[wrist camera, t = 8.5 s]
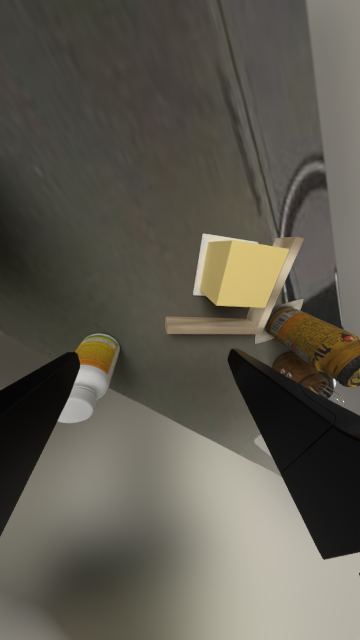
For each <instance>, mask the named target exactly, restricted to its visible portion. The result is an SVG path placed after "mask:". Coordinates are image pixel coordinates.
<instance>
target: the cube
mask: <svg viewBox="0 0 360 640" xmlns="http://www.w3.org/2000/svg"><path fill="white" fill-rule="evenodd" d="M288 252H289V249H286V248H280V247H273V246H267V245H261V244H254V243H248V242H241V241H235V240H227V241H214V242H208V245H207V251H206V256H205V262H204V267H203V273H202V279H201V284H200V291H201V292H202V293H203V294H204V295H205V296H207V297H208V298H209V299H210V300H211V301H212V302H213V303H214V304H215V305H216V306H237V307H258V308H265V307H266V305H267V302H268V300H269V297H270V295H271V293H272V290H273V288H274V285H275V283H276V281H277V278H278V276H279V273H280V271H281V269H282V266H283V264H284V261H285V259H286V257H287V254H288Z"/></svg>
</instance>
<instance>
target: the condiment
mask: <svg viewBox="0 0 360 640" xmlns="http://www.w3.org/2000/svg"><path fill="white" fill-rule="evenodd" d="M303 299H304V298H303ZM303 299H300V300H296V301H292V302H288V303H285V304H282V305H279V306H276V307H273V309H272V311H271V314H270V316H269V318H268V320H267V323H266V325H265V327H264V329H263V332H262V334H255V344H257V343H261V342H265V341H268V340H271V339H274V338H275V339H277V340H278V341H279V342H281V343H282V344H283V345H285V346H286V347H287V348H289V349H290V350H291V351H293V352H294V353H295V354H297V355H298V356H299V357H301V358H302V359H303V360H305V361H306V362H307V363H309V364H310V365H311V366H313V367H314V368H315V369H317V370H319V371H322V372H326V373H327V374H328V375H329V376H330V377H332V378H334V379H336V380H337V381H339V383H340V384H342V385H343V386H346V387H356V386H360V339H359V338H358V337H357V336H355V335H353V334H351V333H349V332H347V331H345V330H342V329H340V328H338V327H336V326H334V325H331V324H329V323H327V322H325V321H322V320H320V319H318V318H315V317H313V316H311V315H309V314H307V313H304V312H302V311H300V309H301V307H302V303H303ZM264 331H265V332H264ZM266 332H267V333H266Z"/></svg>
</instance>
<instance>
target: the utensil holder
mask: <svg viewBox="0 0 360 640" xmlns="http://www.w3.org/2000/svg"><path fill="white" fill-rule="evenodd" d="M273 369H274V370H276V371H278V372H280V373H281V374H283V375H285V376H287V377H289V378H290V379H292V380H294V381H296V382H297V383H299V384H301V385H303V386H304V387H306V388H308V389H310V390H312V391H313V392H315V393H317V394H321V392H322V391H324V390H325V389H326V387H327V386H328V380H327V379H326V378H325V377H324V376H322V375H320V374H319V372H318V371H317V370H316V369H315V368H314V367H313V366H311V365H310V364H309V363H307V362H306V361H305V360H303V359H302V358H301V357H299V356H298V355H297V354H295V353H285V354H283V355H281V356H280V357H279V358H277V359H276V361H275V362H274V364H273ZM328 388H329V387H328ZM331 390H332V389H331ZM325 391H326V390H325ZM333 391H334V390H333ZM334 392H335V391H334ZM328 393H329V391H328ZM329 394H330V393H329ZM337 394H338V393H337ZM332 395H333V394H332ZM338 395H339V394H338ZM325 396H326V395H325ZM325 396H324V397H325ZM326 397H327V396H326ZM326 397H325V398H326ZM343 406H345V404H344V405H343ZM343 406H342V407H343Z"/></svg>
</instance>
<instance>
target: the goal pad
mask: <svg viewBox="0 0 360 640" xmlns="http://www.w3.org/2000/svg"><path fill="white" fill-rule="evenodd" d="M227 240H235V241H241V242H248V243H254V244H258V242H253V241H246V240H240V239H234V238H228V237H221V236H215V235H209V234H203V235H202V241H201V247H200V254H199V260H198V266H197V272H196V278H195V285H194V291H193V295H199V296H205V295H204V294H203V293H202V292H201V291H200V284H201V279H202V273H203V267H204V262H205V256H206V251H207V245H208V242H214V241H227Z"/></svg>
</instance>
